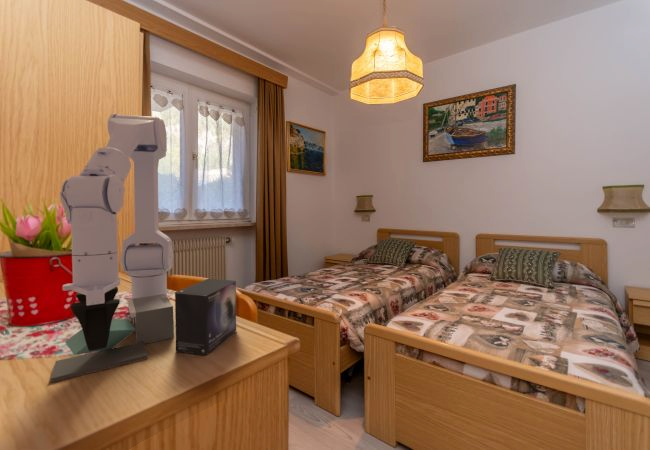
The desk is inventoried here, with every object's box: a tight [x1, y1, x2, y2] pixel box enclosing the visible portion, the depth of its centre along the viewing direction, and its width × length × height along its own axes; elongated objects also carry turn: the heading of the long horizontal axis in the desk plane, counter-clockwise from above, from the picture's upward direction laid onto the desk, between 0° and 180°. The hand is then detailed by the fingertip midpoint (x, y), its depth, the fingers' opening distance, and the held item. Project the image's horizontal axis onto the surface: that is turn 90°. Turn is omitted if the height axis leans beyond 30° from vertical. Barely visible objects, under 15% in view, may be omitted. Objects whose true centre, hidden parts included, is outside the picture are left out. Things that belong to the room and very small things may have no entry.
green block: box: [64, 318, 136, 356], centre depth 50 cm, size 2×10×5 cm
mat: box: [49, 341, 148, 383], centre depth 50 cm, size 6×12×1 cm, turn 125°
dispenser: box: [126, 294, 175, 345], centre depth 61 cm, size 10×7×6 cm
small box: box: [174, 277, 237, 356], centre depth 57 cm, size 11×6×10 cm, turn 168°
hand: (98, 340), depth 49 cm, fingers closed on green block, 6 cm apart
